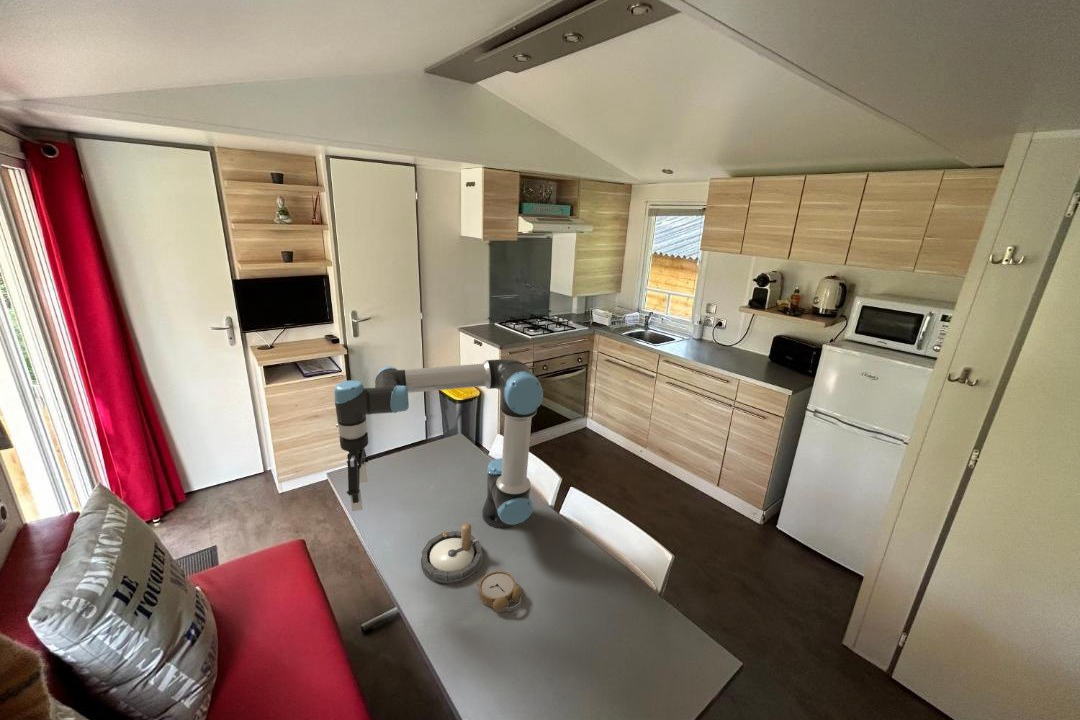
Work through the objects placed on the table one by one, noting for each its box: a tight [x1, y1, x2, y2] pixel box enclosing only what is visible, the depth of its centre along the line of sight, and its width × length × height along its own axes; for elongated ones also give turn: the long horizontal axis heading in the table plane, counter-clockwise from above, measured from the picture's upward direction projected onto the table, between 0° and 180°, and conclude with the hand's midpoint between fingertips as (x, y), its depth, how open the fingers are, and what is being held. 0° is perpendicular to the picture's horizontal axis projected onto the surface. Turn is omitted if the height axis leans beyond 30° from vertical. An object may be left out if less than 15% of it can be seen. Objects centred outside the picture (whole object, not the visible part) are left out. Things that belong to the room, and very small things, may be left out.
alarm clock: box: [476, 570, 524, 613], centre depth 132 cm, size 11×5×15 cm
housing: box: [420, 530, 483, 585], centre depth 145 cm, size 20×20×4 cm
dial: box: [430, 523, 474, 572], centre depth 143 cm, size 14×14×10 cm
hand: (360, 495), depth 132 cm, fingers open, 13 cm apart
